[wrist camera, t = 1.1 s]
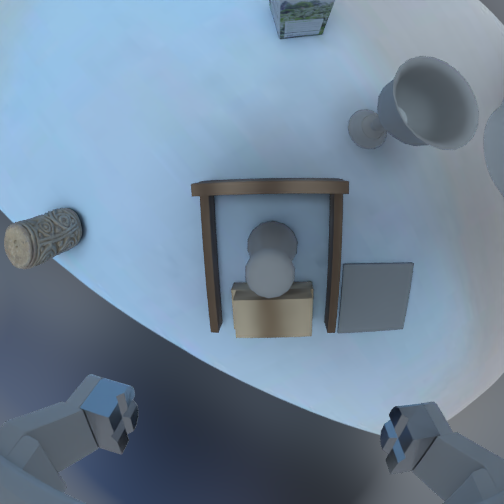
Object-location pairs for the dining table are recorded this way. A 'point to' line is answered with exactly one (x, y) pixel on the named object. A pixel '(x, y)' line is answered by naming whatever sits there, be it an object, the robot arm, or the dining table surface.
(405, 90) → the chalice
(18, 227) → the carving
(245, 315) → the offcut upper
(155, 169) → the dining table surface
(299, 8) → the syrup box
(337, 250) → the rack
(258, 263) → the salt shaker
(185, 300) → the dining table surface
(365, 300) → the slate mat
